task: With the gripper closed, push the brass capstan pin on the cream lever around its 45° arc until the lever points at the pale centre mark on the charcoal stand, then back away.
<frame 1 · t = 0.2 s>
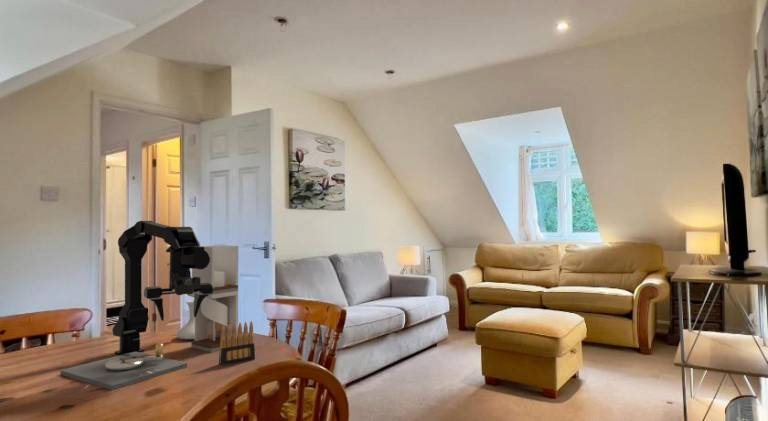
hand: (178, 318, 139), 14 cm above the table, fingers open, 9 cm apart
flower in vase: (195, 338, 172), on the table
capstan dial: (135, 355, 133), point 4 cm above the table, hinge at 45.0°
stand base: (125, 370, 133), on the table
ammunition clip: (237, 362, 141), on the table
display case: (214, 347, 159), on the table
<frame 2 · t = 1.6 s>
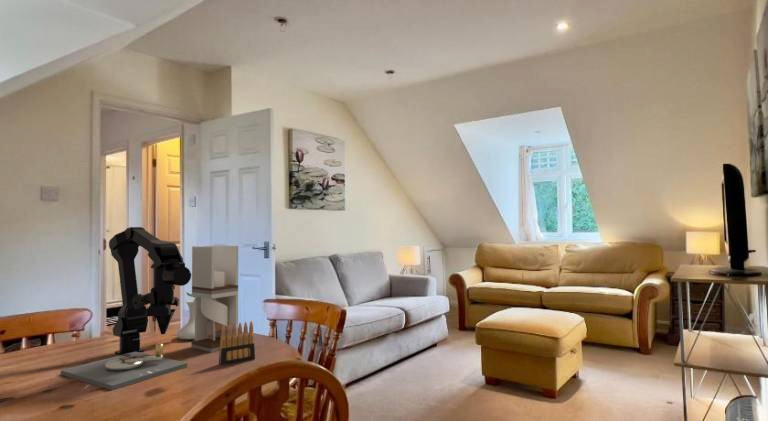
hand: (163, 334, 141), 9 cm above the table, fingers closed
nothing on the table moved.
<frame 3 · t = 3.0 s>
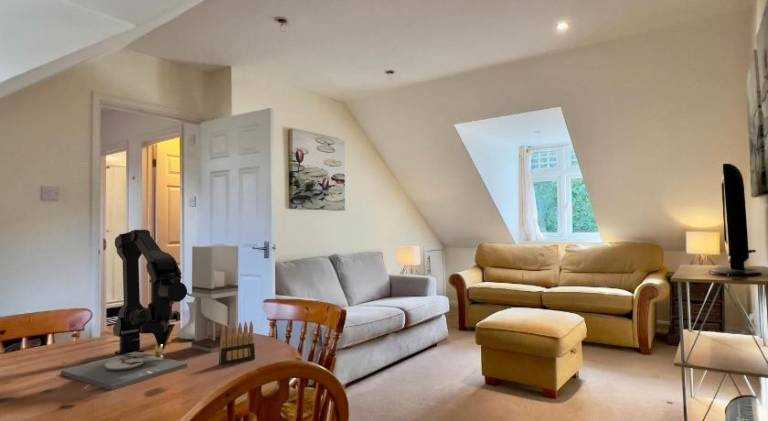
hand: (161, 350, 137), 5 cm above the table, fingers closed
capstan dial: (134, 355, 133), point 4 cm above the table, hinge at 43.1°, touching gripper
everything else where it was.
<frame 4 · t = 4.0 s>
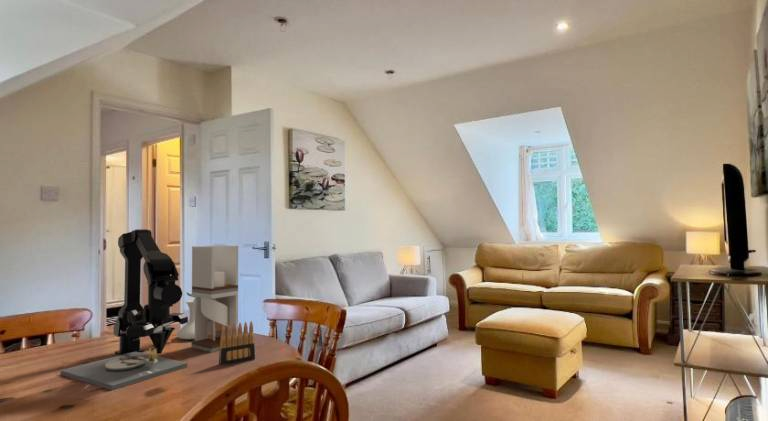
hand: (159, 353, 133), 5 cm above the table, fingers closed
capstan dial: (133, 356, 132), point 4 cm above the table, hinge at 19.5°, touching gripper
everything else where it was.
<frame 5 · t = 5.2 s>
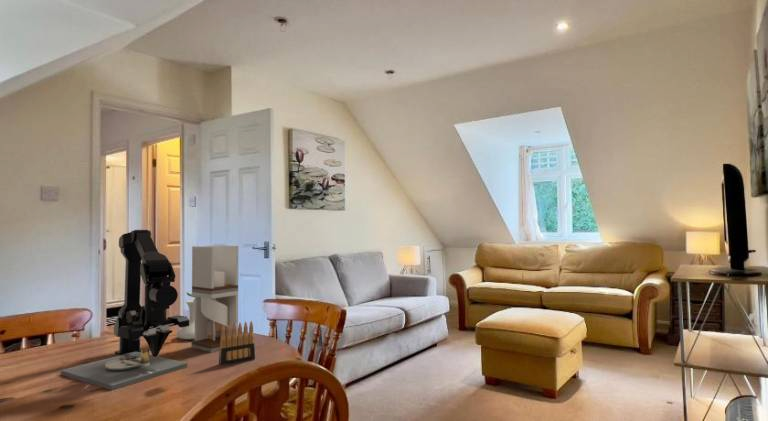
hand: (155, 356, 131), 4 cm above the table, fingers closed
capstan dial: (130, 357, 132), point 4 cm above the table, hinge at 1.4°
everything else where it was.
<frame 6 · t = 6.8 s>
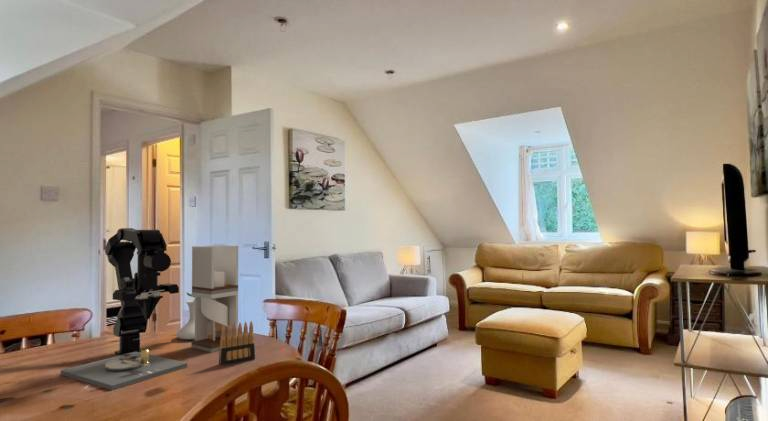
hand: (147, 319, 143), 13 cm above the table, fingers closed
nothing on the table moved.
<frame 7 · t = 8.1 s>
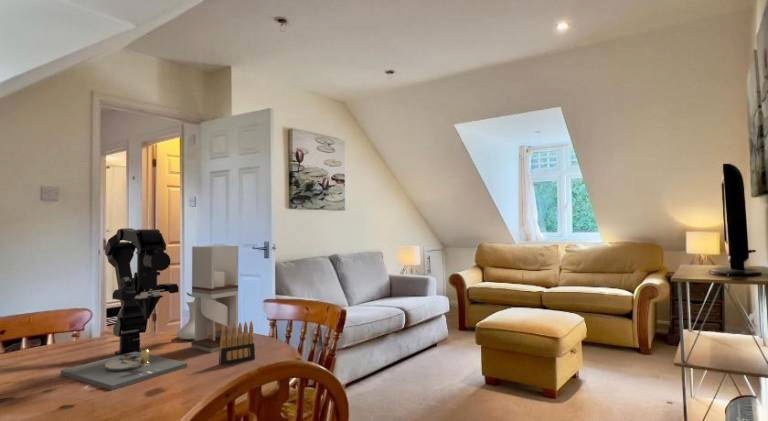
hand: (146, 318, 143), 13 cm above the table, fingers closed
nothing on the table moved.
at the end: capstan dial at +1° (first picture: +45°); ammunition clip moved 0.3 cm from its start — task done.
